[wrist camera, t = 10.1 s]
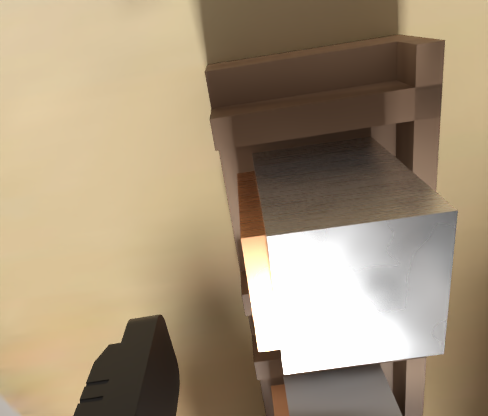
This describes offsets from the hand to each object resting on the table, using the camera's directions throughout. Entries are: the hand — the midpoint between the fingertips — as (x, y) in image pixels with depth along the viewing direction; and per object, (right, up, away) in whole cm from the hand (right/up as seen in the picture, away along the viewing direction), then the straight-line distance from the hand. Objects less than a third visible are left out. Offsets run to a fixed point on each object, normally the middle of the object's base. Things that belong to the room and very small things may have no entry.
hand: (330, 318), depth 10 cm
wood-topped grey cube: (+1, +3, +5) cm, 6 cm away
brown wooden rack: (+1, -1, +9) cm, 9 cm away
